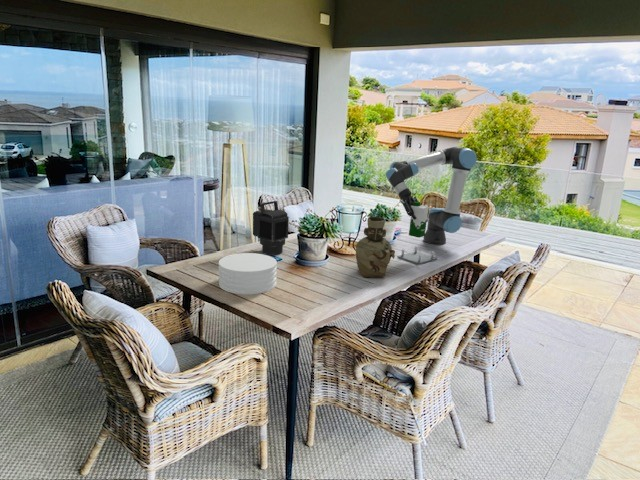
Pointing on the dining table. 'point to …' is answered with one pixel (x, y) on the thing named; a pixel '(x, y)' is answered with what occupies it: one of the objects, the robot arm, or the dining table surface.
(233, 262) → the plate stack
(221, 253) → the dining table surface
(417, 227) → the soya milk
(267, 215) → the lantern
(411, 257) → the peg dock
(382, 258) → the ceramic vessel
